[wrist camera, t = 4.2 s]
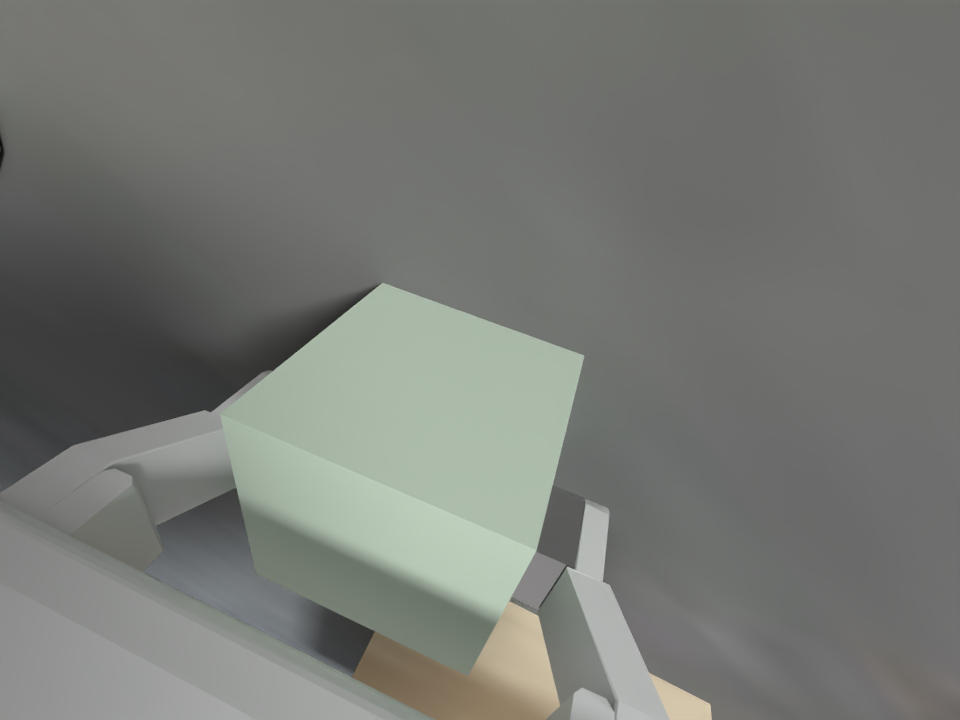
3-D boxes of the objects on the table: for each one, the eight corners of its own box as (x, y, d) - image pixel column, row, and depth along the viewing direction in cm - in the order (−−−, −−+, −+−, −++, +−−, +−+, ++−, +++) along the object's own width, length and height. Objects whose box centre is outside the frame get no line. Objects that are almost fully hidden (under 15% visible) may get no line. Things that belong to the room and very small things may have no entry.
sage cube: (383, 282, 10) (220, 414, 7) (584, 354, 10) (536, 551, 6) (372, 425, 14) (256, 573, 10) (525, 488, 13) (467, 676, 9)
